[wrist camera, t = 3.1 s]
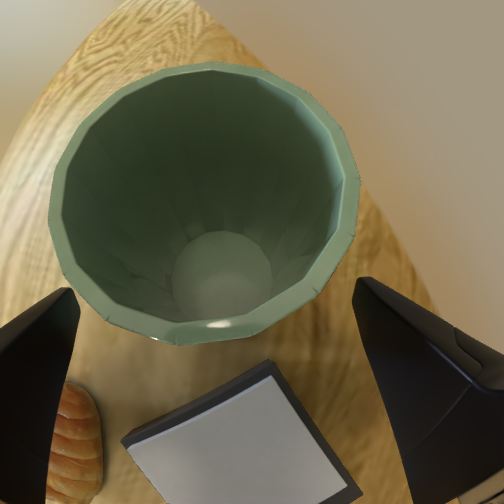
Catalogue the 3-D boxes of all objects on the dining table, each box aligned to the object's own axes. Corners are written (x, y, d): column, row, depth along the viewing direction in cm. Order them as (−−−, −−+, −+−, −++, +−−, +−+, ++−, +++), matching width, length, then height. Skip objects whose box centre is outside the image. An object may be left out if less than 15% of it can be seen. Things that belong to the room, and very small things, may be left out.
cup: (298, 299, 18) (416, 225, 6) (201, 357, 17) (122, 406, 4) (241, 210, 20) (251, 39, 7) (149, 261, 18) (31, 142, 6)
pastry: (43, 360, 16) (11, 362, 12) (124, 403, 16) (100, 417, 12) (30, 460, 13) (4, 473, 10) (103, 503, 13) (83, 526, 9)
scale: (350, 479, 15) (368, 499, 12) (226, 540, 13) (225, 566, 10) (268, 358, 17) (276, 363, 14) (133, 429, 15) (114, 444, 12)
